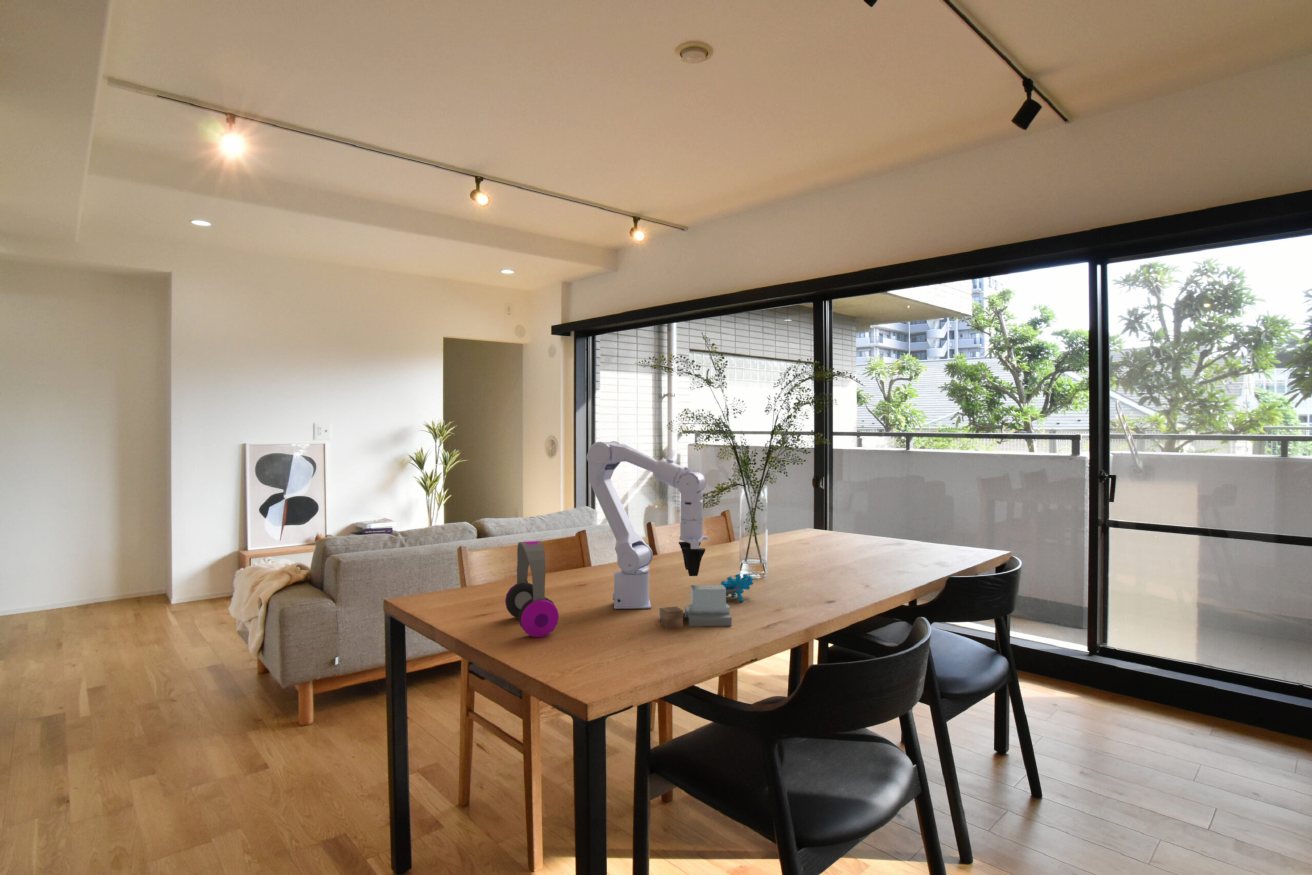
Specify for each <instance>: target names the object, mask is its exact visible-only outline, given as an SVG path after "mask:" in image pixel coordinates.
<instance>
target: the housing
mask: <svg viewBox="0 0 1312 875" xmlns="http://www.w3.org/2000/svg"><path fill="white" fill-rule="evenodd" d="M686 607H687V612H688V614H693V615H711V614H731V607H730V605H729V604H728V603H727V596H726V588H725V587H724V586H723V585H721V584H711V585H710V584H704V585H701V584H700V585H699V584H697V585H696V584H692V585H690V603H688V604H687V603H686Z"/></svg>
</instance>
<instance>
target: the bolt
mask: <svg viewBox="0 0 1312 875" xmlns="http://www.w3.org/2000/svg"><path fill="white" fill-rule="evenodd" d="M661 608H662V607H659V621H661ZM685 620H686V617H685V611H683V621H685Z"/></svg>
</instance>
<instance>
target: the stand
mask: <svg viewBox="0 0 1312 875" xmlns="http://www.w3.org/2000/svg"><path fill="white" fill-rule="evenodd" d="M684 612H685V618H687V620H688V621H687V624H688V627H727V626H729V627H732V621H733V620H732V618H733V617H732V616H731V615H730V614H731V613H730V614H711V615H693V614H688V612H687V606H685V607H684Z"/></svg>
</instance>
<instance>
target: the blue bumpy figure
mask: <svg viewBox="0 0 1312 875" xmlns="http://www.w3.org/2000/svg"><path fill="white" fill-rule="evenodd" d="M734 577H735V578H733V577H732V576H729V577H727V578H726V580H727V581H726V580H722V581H721V582H720V585H723V586H724V587H725V588H726V597H729V595H730V596H731V597H735V596H737V599H738V601H739V603H742V602H744V599H743V597H742V594H743V593H744V592H745V591H744V590H747V591H749V590H750V589H751V586H752V585H754V581H753V580H754V578H753V576H752V575H748V574H747V573H744V574H742V576H741V574H740V573H738V574H735V575H734Z"/></svg>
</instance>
